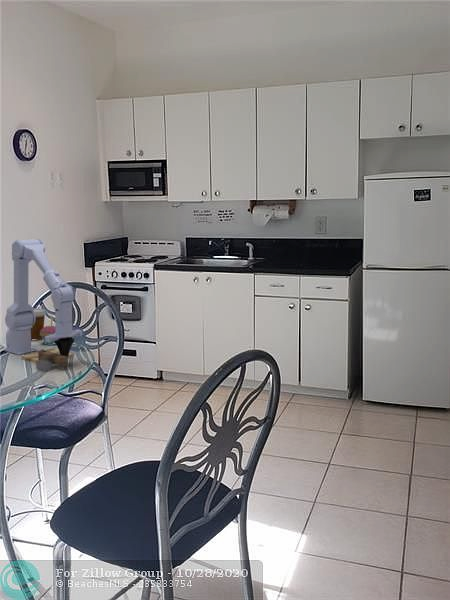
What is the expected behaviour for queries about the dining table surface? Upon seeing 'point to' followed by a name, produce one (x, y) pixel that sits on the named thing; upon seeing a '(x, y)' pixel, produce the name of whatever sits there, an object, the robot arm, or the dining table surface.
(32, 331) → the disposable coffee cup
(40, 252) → the robot arm
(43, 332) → the cupcake
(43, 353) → the hinged leg
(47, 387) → the dining table surface
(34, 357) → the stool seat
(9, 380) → the dining table surface
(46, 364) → the stop block
